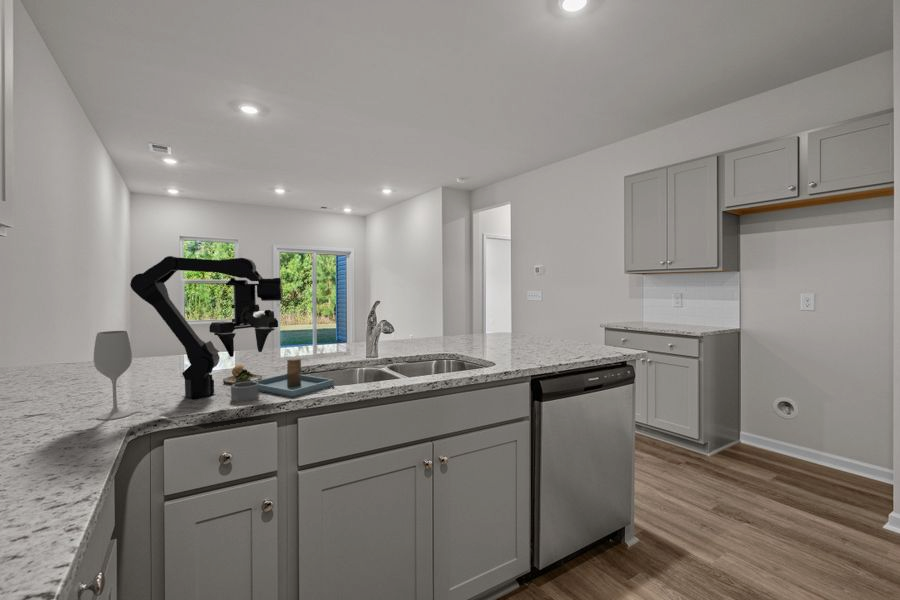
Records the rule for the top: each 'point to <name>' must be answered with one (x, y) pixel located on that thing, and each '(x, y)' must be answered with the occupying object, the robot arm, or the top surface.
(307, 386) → the tray
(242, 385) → the cup
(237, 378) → the burger
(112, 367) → the wineglass
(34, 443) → the top surface
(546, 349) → the top surface
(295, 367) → the peg
